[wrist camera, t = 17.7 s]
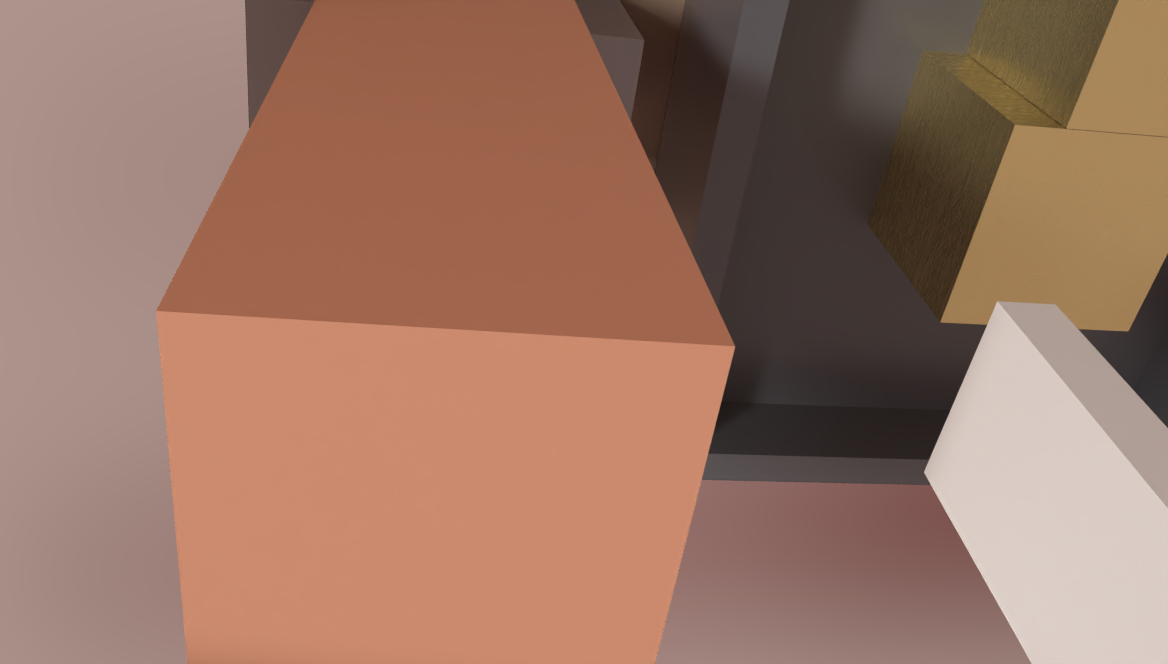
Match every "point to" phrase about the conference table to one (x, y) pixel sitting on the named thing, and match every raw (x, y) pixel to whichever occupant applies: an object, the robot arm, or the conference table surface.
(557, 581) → the salmon pink rectangular prism
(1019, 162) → the tan wooden cube
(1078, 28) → the tan cube
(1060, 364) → the robot arm
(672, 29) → the conference table surface
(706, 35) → the tray
